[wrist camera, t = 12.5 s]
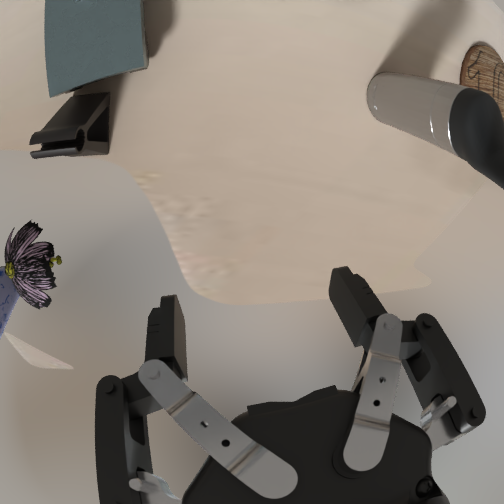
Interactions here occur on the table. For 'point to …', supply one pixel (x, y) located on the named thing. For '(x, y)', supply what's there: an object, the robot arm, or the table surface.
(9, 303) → the aerosol can
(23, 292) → the decorative flower
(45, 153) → the triangular clip stand
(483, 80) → the trivet
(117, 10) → the trolley
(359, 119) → the table surface
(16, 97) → the table surface
